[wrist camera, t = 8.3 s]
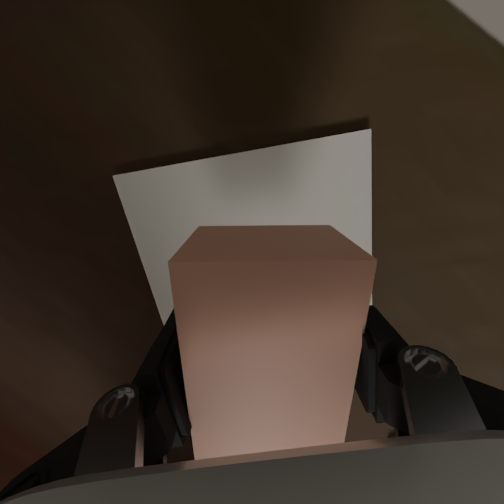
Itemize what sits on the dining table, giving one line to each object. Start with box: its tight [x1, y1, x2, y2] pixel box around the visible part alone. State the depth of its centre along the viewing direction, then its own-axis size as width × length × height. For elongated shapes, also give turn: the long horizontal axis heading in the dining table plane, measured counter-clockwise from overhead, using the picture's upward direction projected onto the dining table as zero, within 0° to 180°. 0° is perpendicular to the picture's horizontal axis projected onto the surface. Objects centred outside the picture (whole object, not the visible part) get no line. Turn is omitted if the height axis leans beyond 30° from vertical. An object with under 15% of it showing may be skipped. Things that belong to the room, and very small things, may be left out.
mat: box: [113, 129, 372, 325], centre depth 19 cm, size 18×16×1 cm
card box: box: [168, 225, 377, 460], centre depth 10 cm, size 8×6×4 cm, turn 0°
